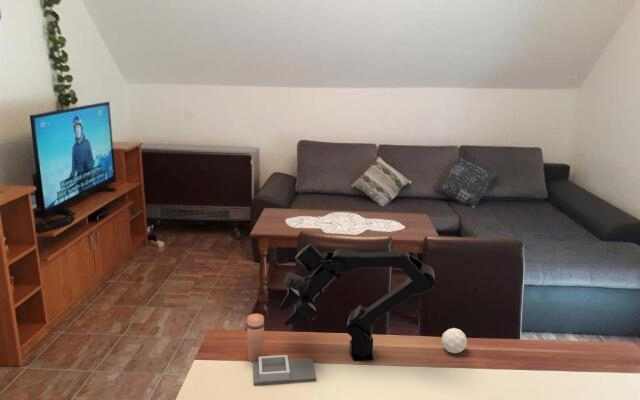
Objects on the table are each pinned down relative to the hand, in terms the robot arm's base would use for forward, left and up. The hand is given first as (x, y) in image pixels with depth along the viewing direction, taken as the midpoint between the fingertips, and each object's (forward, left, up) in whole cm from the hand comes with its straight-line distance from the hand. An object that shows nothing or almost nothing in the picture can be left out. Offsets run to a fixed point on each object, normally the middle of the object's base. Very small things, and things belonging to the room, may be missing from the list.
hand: (282, 316), depth 155 cm
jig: (0, +9, -13) cm, 16 cm away
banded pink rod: (+8, +1, -13) cm, 16 cm away
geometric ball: (-55, +4, -14) cm, 57 cm away
